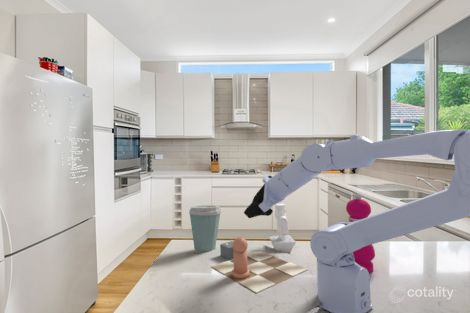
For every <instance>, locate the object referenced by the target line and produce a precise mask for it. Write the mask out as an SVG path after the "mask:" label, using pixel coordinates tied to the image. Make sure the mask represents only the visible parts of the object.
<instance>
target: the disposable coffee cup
mask: <svg viewBox="0 0 470 313" xmlns="http://www.w3.org/2000/svg"><path fill="white" fill-rule="evenodd" d="M188 211H189V213H188V214H189V219H190V226H191V232H192V241H193V247H194V250H195V253H196V252H197V253H196V254H198V253H200V254H202V253H207V252H211V251H214V250H216V246H217V240H218V239H217V238H218V231H219V224H220V218H221V214H222V210H221V207H220V206H219V205H215V204H214V205H212V204H204V205H203V204H202V205H195V206H194V205H193V206H191V207H190V209H189V210H188Z"/></svg>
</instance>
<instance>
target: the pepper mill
mask: <svg viewBox="0 0 470 313" xmlns="http://www.w3.org/2000/svg"><path fill="white" fill-rule="evenodd" d="M345 207H346V208H345V211H346V212H347V214H348V223H350V222H354V221H357V220H361V219H364V218H367V217H370V216H371V213H372V207H371V205H370V203H369V202H368V201H367V200H365V199H362V194H361V193H355V194H354V196H353V199H350V200H349V201H348V202H347V203H346V206H345ZM353 255H354V258H355V262H356V263H357V264H358V265H360V266H361V267H364V268H365V269H367V270H368V272H369V274H370V273H372V272H374V262H372V261H373V260H374V259H375V257H376V252H375V247H374V244H371V245H367V246H365V247H363V248H360V249H358V250H356V251H354V252H353Z"/></svg>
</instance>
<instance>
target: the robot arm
mask: <svg viewBox="0 0 470 313" xmlns="http://www.w3.org/2000/svg"><path fill="white" fill-rule="evenodd" d="M423 155H429V156H432V157H435V158H438V159H441V160H444V161H451V160H453V161H454V172H453V174H452V178H451V180H450V183H449V187H448V188H446V189H443V190H440V191H437V192H435V193H432V194H429V195H426V196H424V197H420V198H418V199H415V200H412V201H409V202H406V203H402V204H401V205H398V206H396V207H393V208H389V209H387V210H386V209H385V210H384V211H381V212H378V213H376V214H375V213H374V214H373V215H369V216H368V217H367V218H364V219H361V220H357V221H354V222H350V223H349V222H345V221H344V222H343V221H338V222H334V223H332V225H330V226H328V227H326V228H324V229H320V230H317V231H316V232H314V233H313V235H312V236H311V238H310V249H311V252H312V255H314V257H315V258H316V275H317V276H316V277H317V278H316V280H317V298H318V300H319V301H320V303H319V304H317V306H318V307H319V308H321V309H323V310H326V311H327V312H330V313H367V312H369V311H370V310H371V309H372V308H373V304H372V301H371V300H372V299H371V298H372V297H371V276H370V273H369V272H368V270H367V269H365V268H364V267H361V266H360V265H358V264H357V263H356V262H355V258H354V255H353V252H354V251H356V250H358V249H360V248H363V247H365V246H367V245H371V244H372V245H374V244H378V243H381V242H385V241H388V240H391V239H394V238H395V239H396V238H399V237H403V236H406V235H409V234H413V233H416V232H420V231H424V230H426V229H430V228H434V227H438V226H441V225H444V224H447V223H448V224H449V223H451V222H455V221H458V220H463V219H466V218H469V217H470V130H469V131H467V130H466V129H449V130H448V129H447V130H435V131H430V132H429V131H428V132H425V133H424V132H423V133H419V134H414V135H413V134H412V135H406V136H401V137H396V138H391V139H390V138H389V139H384V140H378V141H372V140H370V139H369V138H368V137H366V136H360V134H352V135H350V136H349V139H342V140H336V141H334V139H329V140H326V144H322V143H321V144H320V143H317V142H313V143H312V144H309V145H307V146H306V147H305V148H304V149H302V152H301V155H300V156H299V157H297V158H296V159H294V160H292V161H291V162H290V163H289V164H288V165H286V166H284V167H283V168H282V169H281V170H280V171H278V172H277V173H276V174H274V175H273V176H271V175H268V176H267V175H264V177H263V178H262V183H263V185H262V186H261V187H260V189H259V190H258V191H256V194H255V195H254V196H253V199H252V201H251V203H250V204H249V205H248V206H247V207H246V208H245V210H244V212H243V213H244V215H245V216H246V217H247V218H248V219H253V218H256V217H258V216H267V217H269V216H271V215H272V214H273V212H274V211H273V209H272V207H274V206H275V204H280V203H281V202H282V201H284V200H285V199H286V198H287V197H289V196H291V194H293V193H294V192H296V191H298V190H299V189H300V188H301V187H303V186H305V185H307V184H308V183H309V182H310V181H312V180H313V179H314V178H315V177H317V176H319V175H320V174H321V173H322V172H330V171H332V170H336V171H338V170H348V169H349V170H350V169H359V168H368V167H370V166H371V165H372V164H373V163H374V162H375V161H376V160H377V159H390V158H400V157H411V156H423Z"/></svg>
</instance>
